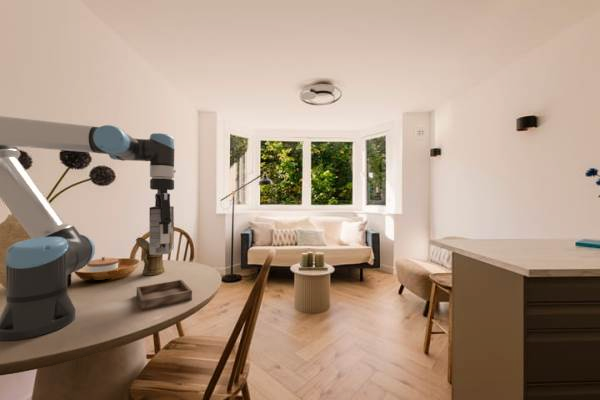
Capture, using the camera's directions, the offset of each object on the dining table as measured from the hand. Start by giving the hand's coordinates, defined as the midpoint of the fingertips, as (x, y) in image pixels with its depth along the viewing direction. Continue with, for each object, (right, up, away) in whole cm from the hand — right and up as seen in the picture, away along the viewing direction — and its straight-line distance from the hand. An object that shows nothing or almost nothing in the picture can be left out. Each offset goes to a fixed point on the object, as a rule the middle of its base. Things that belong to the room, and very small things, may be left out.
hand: (162, 241), depth 91 cm
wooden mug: (-20, -20, +26) cm, 38 cm away
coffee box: (0, -4, 0) cm, 4 cm away
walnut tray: (+1, -20, -1) cm, 20 cm away
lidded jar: (-36, -20, +19) cm, 45 cm away
